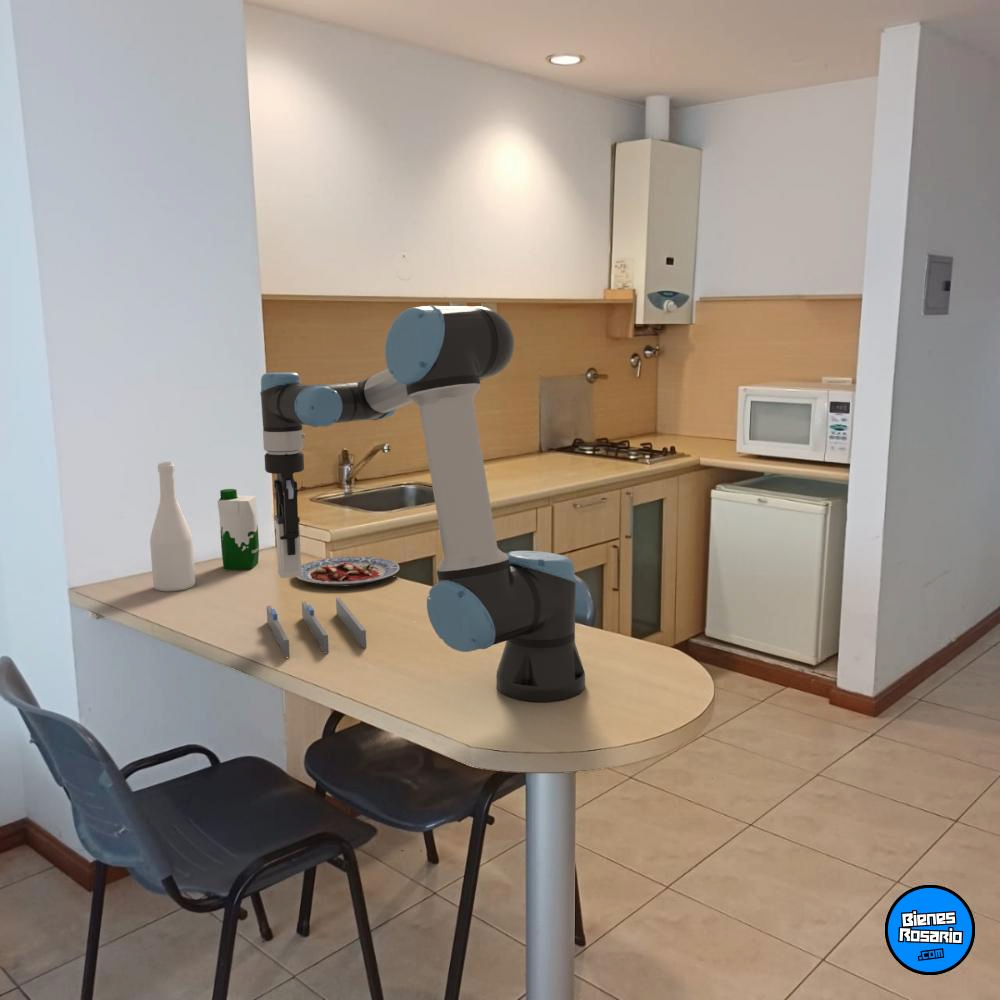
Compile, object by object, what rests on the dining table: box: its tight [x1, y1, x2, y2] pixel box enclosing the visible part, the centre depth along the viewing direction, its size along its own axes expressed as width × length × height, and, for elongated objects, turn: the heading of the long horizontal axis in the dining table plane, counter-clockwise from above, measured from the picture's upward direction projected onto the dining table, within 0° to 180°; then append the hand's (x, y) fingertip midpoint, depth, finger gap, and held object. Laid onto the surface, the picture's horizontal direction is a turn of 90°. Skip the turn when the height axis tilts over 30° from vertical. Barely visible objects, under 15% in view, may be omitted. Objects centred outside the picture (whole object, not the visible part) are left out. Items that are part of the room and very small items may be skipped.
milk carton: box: [217, 488, 260, 571], centre depth 247 cm, size 9×9×20 cm
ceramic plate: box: [295, 556, 400, 586], centre depth 238 cm, size 26×26×3 cm
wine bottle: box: [149, 461, 196, 592], centre depth 227 cm, size 10×10×30 cm
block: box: [274, 514, 302, 579], centre depth 193 cm, size 4×4×12 cm
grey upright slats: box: [266, 597, 367, 658], centre depth 193 cm, size 24×15×4 cm, turn 21°
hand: (289, 567), depth 194 cm, fingers closed on block, 4 cm apart
